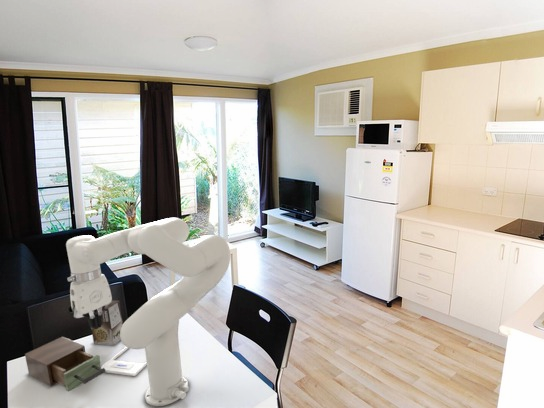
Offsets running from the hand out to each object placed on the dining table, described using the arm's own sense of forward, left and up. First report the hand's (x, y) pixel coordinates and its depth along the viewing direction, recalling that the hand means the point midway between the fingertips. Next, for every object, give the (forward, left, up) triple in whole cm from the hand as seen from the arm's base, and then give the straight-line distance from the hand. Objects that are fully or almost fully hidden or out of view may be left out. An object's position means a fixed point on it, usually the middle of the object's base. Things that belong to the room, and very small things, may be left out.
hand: (96, 327), depth 114 cm
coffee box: (+23, -16, -21) cm, 34 cm away
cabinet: (+21, +3, -21) cm, 29 cm away
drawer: (+8, +3, -20) cm, 21 cm away
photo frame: (+3, -13, -21) cm, 24 cm away
